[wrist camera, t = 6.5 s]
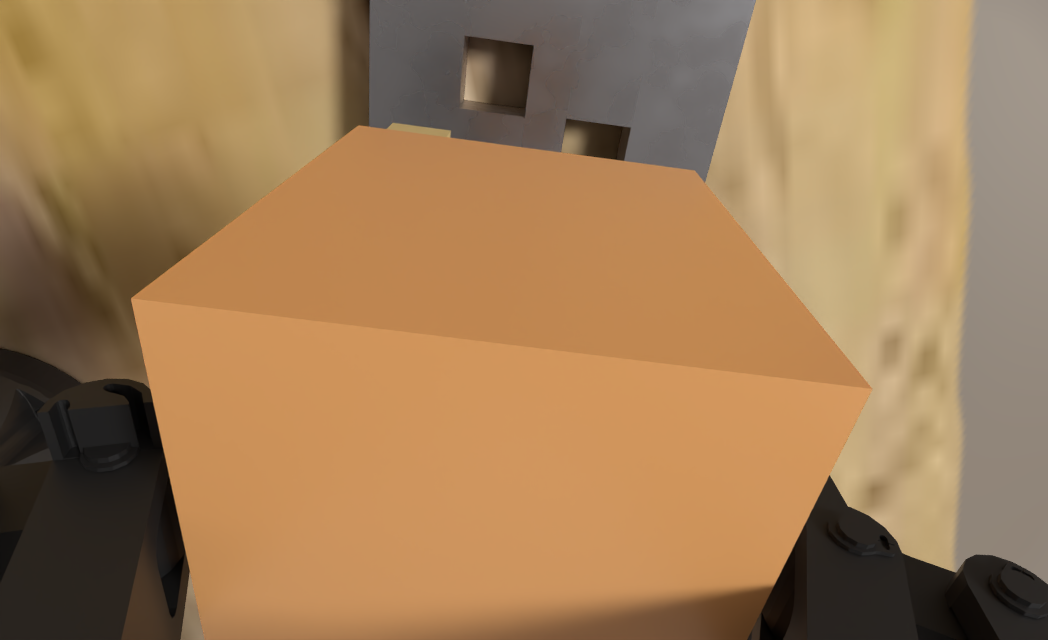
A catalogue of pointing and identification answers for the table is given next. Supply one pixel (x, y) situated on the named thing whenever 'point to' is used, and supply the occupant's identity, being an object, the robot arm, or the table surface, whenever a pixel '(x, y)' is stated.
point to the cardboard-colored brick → (488, 401)
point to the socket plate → (566, 71)
